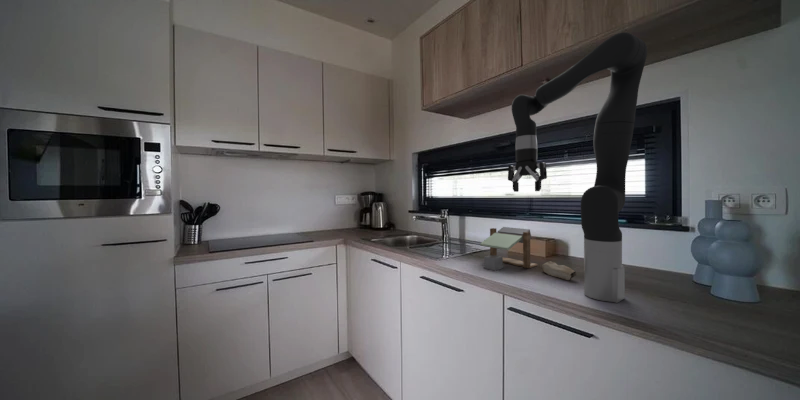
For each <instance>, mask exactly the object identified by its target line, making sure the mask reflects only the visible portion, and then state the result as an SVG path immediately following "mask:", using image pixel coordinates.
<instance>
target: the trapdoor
mask: <svg viewBox="0 0 800 400" xmlns="http://www.w3.org/2000/svg"><path fill="white" fill-rule="evenodd" d="M496 232H498V233H494V234H492V235H491V236H490V235H489V236H488V237H487V238H486V239H484V240H483V241H482V242H480V243H479V244H480V246H481V247H488V248H490V247H492V248H497V249H499V250H504V251H509V250H510V249H512V248H513V247H514V246H515V245H516V244H518V243H519V244H523V237H522V236H517V235H523V232H530V240H532V234H531V229H529V228H520V227H508V226H502V227H501V228H500V229H499V230H496ZM500 233H507V234H500ZM509 234H515V235H509Z"/></svg>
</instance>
